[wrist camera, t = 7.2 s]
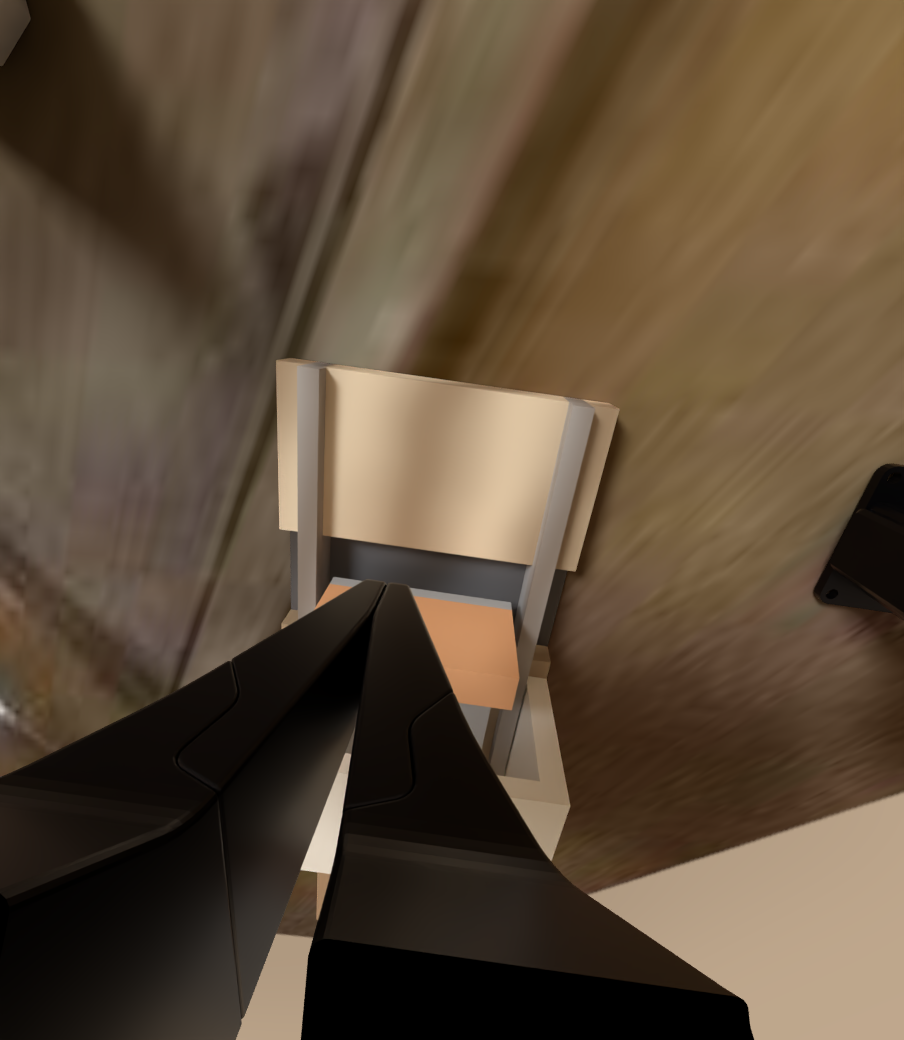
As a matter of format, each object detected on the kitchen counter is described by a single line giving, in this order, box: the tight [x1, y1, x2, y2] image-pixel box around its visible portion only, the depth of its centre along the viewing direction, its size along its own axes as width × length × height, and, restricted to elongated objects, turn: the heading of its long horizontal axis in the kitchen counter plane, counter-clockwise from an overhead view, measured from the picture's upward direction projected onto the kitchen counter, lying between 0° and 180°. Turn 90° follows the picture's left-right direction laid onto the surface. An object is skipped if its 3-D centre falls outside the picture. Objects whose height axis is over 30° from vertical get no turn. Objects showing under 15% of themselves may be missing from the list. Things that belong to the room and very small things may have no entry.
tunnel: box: [301, 676, 570, 874], centre depth 20 cm, size 13×6×6 cm, turn 83°
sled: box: [314, 577, 519, 920], centre depth 21 cm, size 8×18×5 cm, turn 173°
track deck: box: [276, 358, 620, 776], centre depth 22 cm, size 13×26×2 cm, turn 173°
